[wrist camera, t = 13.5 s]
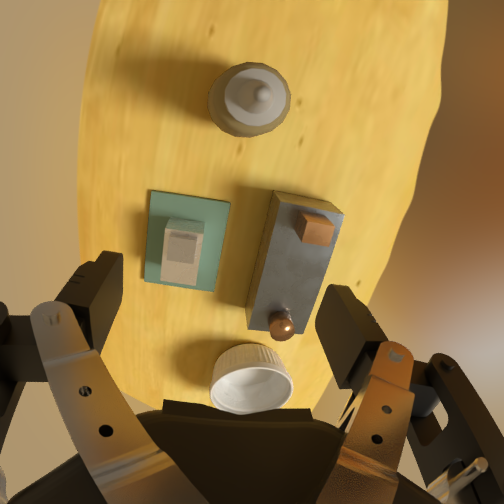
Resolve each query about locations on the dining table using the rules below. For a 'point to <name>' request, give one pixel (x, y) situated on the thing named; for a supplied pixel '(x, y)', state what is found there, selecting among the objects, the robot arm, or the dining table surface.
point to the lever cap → (182, 251)
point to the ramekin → (250, 380)
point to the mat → (189, 209)
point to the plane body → (291, 263)
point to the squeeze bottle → (249, 100)
